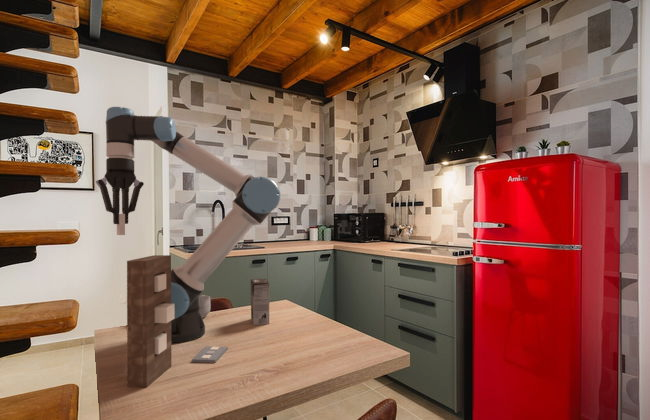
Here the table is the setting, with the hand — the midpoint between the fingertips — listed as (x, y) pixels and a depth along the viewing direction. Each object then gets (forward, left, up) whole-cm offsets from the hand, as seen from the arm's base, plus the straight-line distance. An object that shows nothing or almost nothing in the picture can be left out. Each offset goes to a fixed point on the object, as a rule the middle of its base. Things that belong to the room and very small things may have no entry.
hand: (120, 234), depth 109 cm
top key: (-1, +24, -14) cm, 28 cm away
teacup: (-35, -20, -37) cm, 55 cm away
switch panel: (0, +23, -36) cm, 43 cm away
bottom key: (-1, +24, -30) cm, 38 cm away
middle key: (-3, +26, -22) cm, 34 cm away
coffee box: (-48, +5, -37) cm, 61 cm away
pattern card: (-18, +22, -36) cm, 46 cm away
